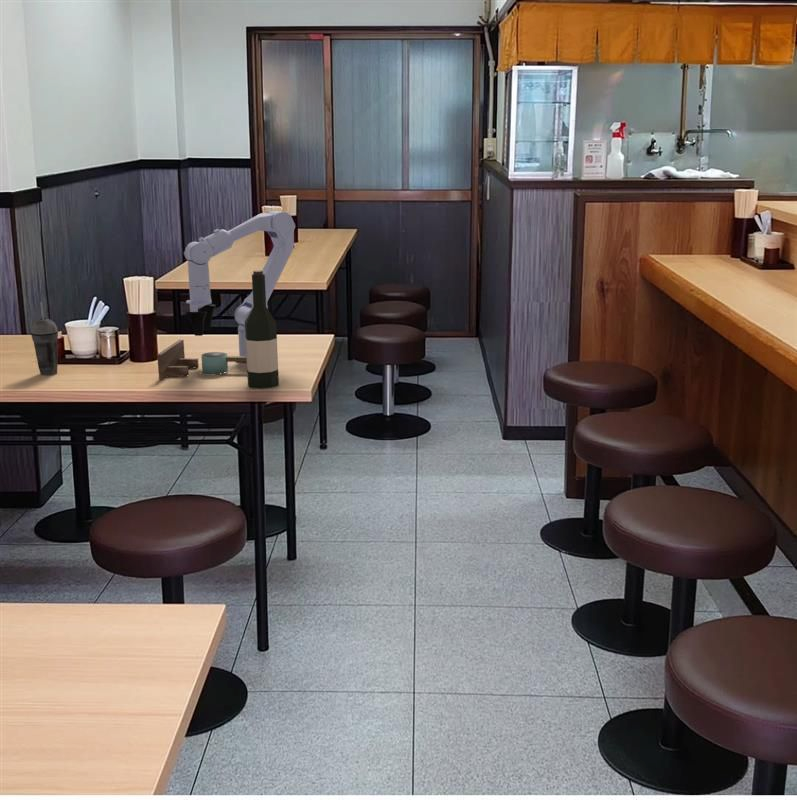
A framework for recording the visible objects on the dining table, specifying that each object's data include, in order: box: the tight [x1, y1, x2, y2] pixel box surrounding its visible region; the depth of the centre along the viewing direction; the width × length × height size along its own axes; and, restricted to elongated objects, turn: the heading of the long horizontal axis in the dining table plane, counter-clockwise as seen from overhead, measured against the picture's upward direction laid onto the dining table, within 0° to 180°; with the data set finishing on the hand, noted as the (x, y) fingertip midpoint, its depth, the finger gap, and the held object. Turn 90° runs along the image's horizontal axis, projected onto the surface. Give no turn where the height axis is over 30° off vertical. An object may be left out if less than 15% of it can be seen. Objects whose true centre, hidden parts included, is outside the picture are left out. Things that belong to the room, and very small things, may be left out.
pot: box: [201, 351, 247, 375], centre depth 280 cm, size 14×7×5 cm, turn 85°
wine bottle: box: [245, 269, 280, 389], centre depth 262 cm, size 8×8×30 cm
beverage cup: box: [30, 301, 59, 376], centre depth 278 cm, size 7×7×20 cm
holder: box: [156, 339, 200, 380], centre depth 281 cm, size 6×20×7 cm, turn 175°
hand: (202, 332), depth 286 cm, fingers open, 7 cm apart
